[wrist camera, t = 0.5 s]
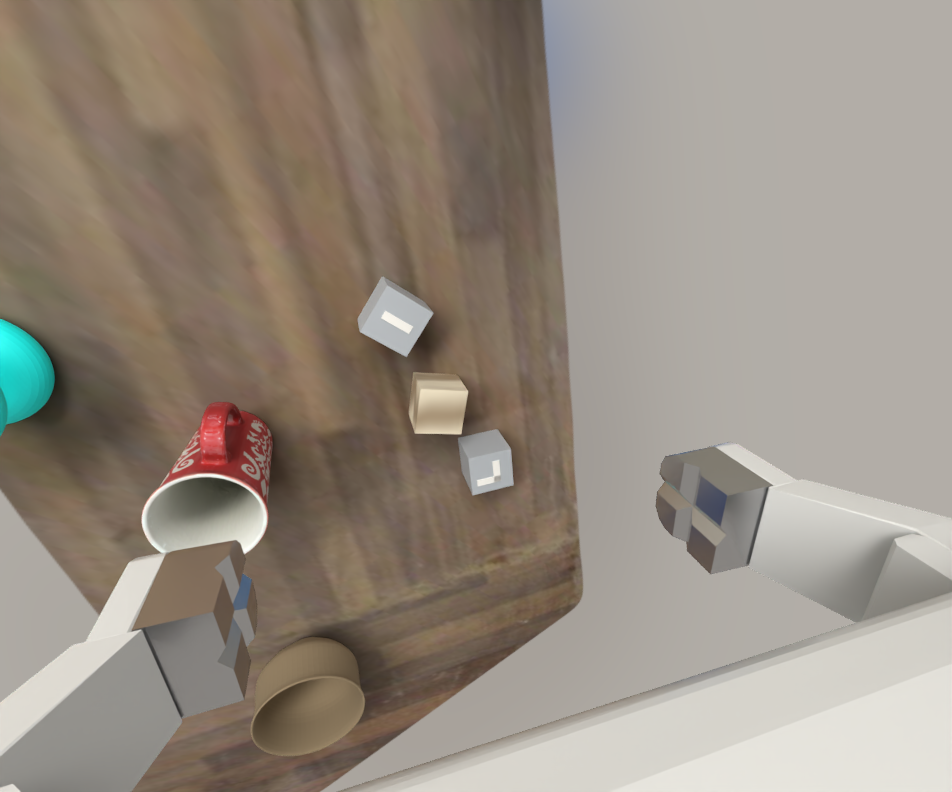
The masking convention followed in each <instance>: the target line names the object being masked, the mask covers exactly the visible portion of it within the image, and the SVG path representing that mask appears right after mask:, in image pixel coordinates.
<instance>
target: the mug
mask: <svg viewBox="0 0 952 792" xmlns="http://www.w3.org/2000/svg"><path fill="white" fill-rule="evenodd" d="M272 447H273V441H272V435H271V432H270V430H269V429H268V427H267V425H266V424H265V423H264V422H263V421H262V420H261V419H259V418H258V417H256V416H255V415H253V414H250V413H248V412H244V411H239V410H238V408H237V407H236V406H235V405H234V404H232V403H228V402H215V403H212V404H210V405H209V406H208V407H207V409H206V410H205V413H204V415H203V418H202V422H201V426H200V427H199V428H198V430H197V431H196V433H195V434H194V436H193V438H192V439H191V440H190V442H189V443H188V445H187V446H186V448H185V449H184V451H183V453H182V454H181V455H180V457H179V458H178V460H177V462H176V463H175V465H174V466H173V467H172V469H171V470H170V472H169V473H168V475H167V476H166V478H165V479H164V481H163V482H162V484H161V485H160V487H159V488H158V489H157V490H155V491H154V493H153V494H152V495H151V496H150V497H149V499H148V500H147V502H146V503H145V506H144V508H143V512H142V518H141V521H142V527H143V531H144V533H145V535H146V537H147V539H148V540H149V542H150V543H151V544H152V545H153V546H154V547H155V548H156V549H157V550H158V551H160V552H161V553H165V552H171V551H175V550H181V549H187V548H193V547H198V546H204V545H210V544H215V543H221V542H227V541H232V540H237V541H238V542H239V543H241V546H242V549H243V552H244V554H246V553H248V552H249V551H250V550H252V549H253V548H254V547H255V546H256V545H257V544H258V543H259V542H260V540H261V539H262V538H263V536H264V534H265V532H266V529H267V526H268V517H269V515H268V509H267V502H268V489H269V478H270V466H271V455H272Z"/></svg>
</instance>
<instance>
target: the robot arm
mask: <svg viewBox="0 0 952 792" xmlns="http://www.w3.org/2000/svg"><path fill="white" fill-rule="evenodd" d="M660 475H661V477H662V478H663V480H664V481H665V482H664V483H663V485H662V486H661V487H660V489H659V490H658V491H657V499H656V508H657V512H658V516H659V519H660V521H661V523H662V524H663V526H664V528H665V529H666V530H667V531H668V532H669V533H670V534H671V535H672V536H674V537H676V538H678V539H681V540H683V541H686V543H687V551H688V552H689V553H690V554H691V555H692V556H693V557H694V558H695V559H696V560H697V561H698V562H699V563H700V564H701V565H702V566H703V567H704V568H705V569H706V570H707V571H708V572H709V573H710V574H714V573H718V572H723V571H727V570H731V569H735V568H739V567H744V566H748V565H749V568H750V569H752V570H754V571H756V572H758V573H760V574H762V575H764V576H766V577H768V578H770V579H772V580H774V581H776V582H778V583H780V584H782V585H784V586H786V587H788V588H789V589H791V590H793V591H795V592H798V593H800V594H801V595H803V596H805V597H807V598H809V599H811V600H813V601H815V602H817V603H819V604H821V605H823V606H825V607H827V608H829V609H831V610H833V611H834V612H836V613H838V614H840V615H842V616H844V617H846V618H848V619H850V620H852V621H854V622H856V623H854V624H851V625H848V626H845V627H842V628H839V629H836V630H833V631H830V632H827V633H824V634H820V635H818V636H814V637H811V638H808V639H805V640H802V641H799V642H796V643H793V644H790V645H787V646H784V647H781V648H778V649H775V650H771V651H768V652H765V653H762V654H759V655H756V656H753V657H750V658H747V659H744V660H741V661H738V662H735V663H732V664H729V665H726V666H723V667H720V668H717V669H713V670H710V671H707V672H705V673H701V674H698V675H695V676H692V677H689V678H686V679H683V680H680V681H677V682H673V683H670V684H667V685H665V686H661V687H658V688H655V689H652V690H649V691H646V692H643V693H640V694H637V695H633V696H630V697H627V698H624V699H621V700H618V701H615V702H612V703H609V704H606V705H603V706H599V707H596V708H593V709H590V710H587V711H584V712H581V713H578V714H575V715H572V716H569V717H566V718H562V719H559V720H556V721H553V722H550V723H547V724H544V725H541V726H538V727H535V728H532V729H528V730H525V731H522V732H519V733H516V734H513V735H510V736H507V737H504V738H501V739H498V740H495V741H492V742H488V743H486V744H482V745H479V746H476V747H473V748H470V749H467V750H464V751H461V752H458V753H454V754H452V755H448V756H445V757H442V758H440V759H436V760H433V761H430V762H427V763H424V764H421V765H418V766H414V767H411V768H408V769H405V770H403V771H399V772H396V773H393V774H390V775H387V776H384V777H381V778H378V779H375V780H372V781H368V782H365V783H362V784H359V785H356V786H353V787H350V788H347V789H344V790H341V791H338V792H952V518H948V517H944V516H941V515H937V514H933V513H929V512H925V511H921V510H918V509H914V508H910V507H906V506H903V505H899V504H895V503H891V502H887V501H883V500H880V499H876V498H872V497H869V496H865V495H861V494H857V493H853V492H850V491H846V490H842V489H838V488H834V487H831V486H827V485H823V484H819V483H816V482H812V481H808V480H804V479H803V480H798V481H797V480H795V479H794V478H792V477H790V476H789V475H787V474H786V473H784V472H782V471H781V470H779V469H777V468H776V467H774V466H773V465H771V464H769V463H768V462H766V461H764V460H763V459H761V458H760V457H758V456H756V455H755V454H753V453H751V452H750V451H748V450H747V449H745V448H743V447H742V446H740V445H738V444H736V443H730V442H727V443H723V444H718V445H714V446H709V447H707V448H704V449H699V450H694V451H689V452H684V453H680V454H674V455H669V456H665V458H664V460H663V461H662V463H661V469H660ZM245 560H246V558H245V555H244V552H243V549H242V546H241V543H239V542H238V541H237V540H232V541H227V542H221V543H215V544H210V545H204V546H198V547H193V548H187V549H181V550H175V551H171V552H165V553H160V554H154V555H149V556H144V557H139V558H136V559H134V560H132V561H131V562H129V563H128V565H127V566H126V568H125V570H124V572H123V574H122V576H121V577H120V579H119V581H118V583H117V585H116V587H115V588H114V590H113V592H112V594H111V596H110V598H109V599H108V601H107V603H106V605H105V607H104V608H103V610H102V612H101V614H100V616H99V618H98V619H97V621H96V623H95V625H94V627H93V629H92V630H91V632H90V634H89V636H88V638H87V640H86V641H85V642H84V643H80V644H76V645H72V646H71V647H70V648H68V649H67V650H66V651H65V652H63V653H62V654H61V655H60V656H58V657H57V658H56V659H55V660H53V661H52V662H51V663H50V664H48V665H47V666H46V667H44V668H43V669H42V670H41V671H39V672H38V673H37V674H36V675H34V676H33V677H32V678H31V679H29V680H28V681H27V682H25V683H24V684H23V685H22V686H20V687H19V688H18V689H17V690H15V691H14V692H13V693H12V694H10V695H9V696H8V697H6V698H5V699H4V700H3V701H2V702H0V792H131V791H132V790H133V789H134V787H135V786H136V784H137V783H138V782H139V780H140V779H141V778H142V776H143V775H144V774H145V772H146V771H147V769H148V768H149V767H150V765H151V764H152V763H153V761H154V760H155V759H156V757H157V756H158V755H159V753H160V752H161V750H162V749H163V748H164V746H165V745H166V744H167V742H168V741H169V740H170V738H171V737H172V736H173V734H174V733H175V731H176V730H177V729H178V727H179V726H180V725H181V723H182V718H185V717H189V716H192V715H195V714H199V713H202V712H205V711H209V710H212V709H216V708H219V707H222V706H226V705H229V704H232V703H236V702H239V701H242V700H244V698H245V693H246V687H247V681H248V675H249V670H250V664H251V659H250V656H249V653H248V650H247V646H248V645H249V644H250V642H251V641H252V640H253V639H254V638H255V634H256V627H257V600H256V594H255V589H254V585H253V582H252V579H251V578H249V577H247V576H246V575H244V574H243V570H244V565H245Z"/></svg>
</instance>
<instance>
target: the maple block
mask: <svg viewBox="0 0 952 792" xmlns="http://www.w3.org/2000/svg"><path fill="white" fill-rule="evenodd" d="M467 396H468V390H467V389H466V387H465V386H464V384H463V383H462V381H461V380H460V378H459V377H458V375H455V374H438V373H420V372H413V379H412V388H411V396H410V405H409V416H410V419H411V422H412V425H413V429H414V432H415V433H420V434H461V432H462V426H463V420H464V414H465V408H466V402H467Z"/></svg>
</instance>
